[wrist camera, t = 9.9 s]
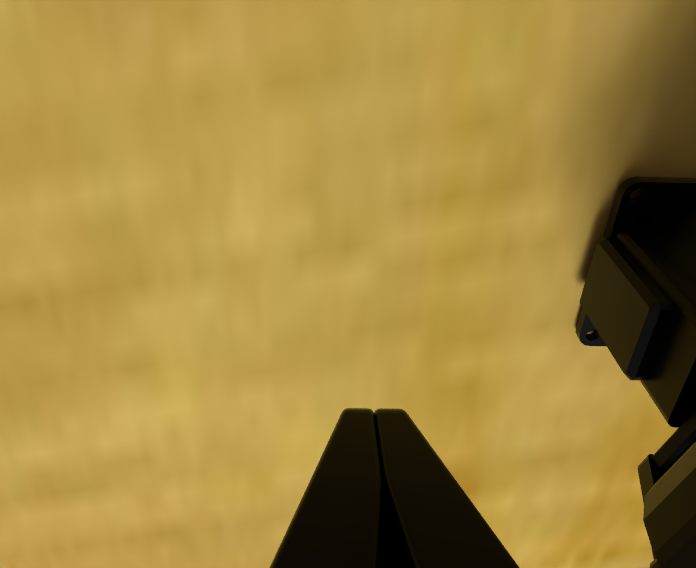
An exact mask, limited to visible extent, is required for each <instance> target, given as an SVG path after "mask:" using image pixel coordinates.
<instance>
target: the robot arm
mask: <svg viewBox="0 0 696 568" xmlns="http://www.w3.org/2000/svg"><path fill="white" fill-rule="evenodd" d="M637 189H640V193H639V195H638V196H636V197H635V198H632V199H630V195H631V193H632V192H634V191H635V190H637ZM580 304H581V306H582V310H581V313H580V317H579V320H578V323H577V326H576V334H577V336H578V338H579V340H580V341H581V343H583V344H584V345H588V346H607V347H608V349H609V350H610V352H611V354H612V355H613V357H614V358H615V360H616V362H617V363H618V365H619V366H620V368H621V370H622V371H623V373H624V374H625V375H626V376H627V377H628V378H629V379H630V380H640V381H641V383H642V384H643V386H644V387H645V389H646V390H647V392H648V393H649V395H650V396H651V398H652V400H653V401H654V403H655V404H656V406H657V407H658V409H659V410H660V412H661V413H662V415H663V416H664V418H665V419H666V421H667V423H668V424H669V425H670V426H672V427H679V428H678V429H677V430H676V431H675V432H674V433H673V434H672V436H671V437H670V438H669V439H668V440H667V441H666V442H665V443H664V444H663V445H662V446H661V447H660V449H659V450H658V451H657V452H656V453H655V454H654V455H653V454H649V455H648V456H647V457H646V458H645V459H644V460H643V461H642V463H641V464H640V465H639V466H638V473H639V479H640V484H641V490H642V496H643V501H644V517H643V521H644V524H645V527H646V530H647V533H648V537H649V540H650V543H651V546H652V552H653V558H654V561H653V562H652V563H650V568H696V179H693V178H659V177H633V178H629V179H628V180H626V181H624V182H623V183H622V184H621V185H620V187H619V189H618V191H617V194H616V197H615V200H614V204H613V207H612V210H611V214H610V217H609V220H608V223H607V227H606V230H605V233H604V237H603V238H602V239H601V240H600V241H599V242H598V243H597V245H596V248H595V252H594V255H593V258H592V262H591V265H590V269H589V272H588V275H587V279H586V282H585V285H584V289H583V292H582V296H581V299H580ZM594 329H595V331H594V332H593V333H591V334H587V333H588V332H589V331H591V330H594ZM270 568H519V566H518V565H517V564H516V562H515V561H514V560H513V558H512V557H511V556H510V554H509V553H508V551H507V550H506V549H505V547H504V546H503V545H502V543H501V542H500V540H499V539H498V538H497V536H496V535H495V534H494V532H493V531H492V529H491V528H490V527H489V525H488V524H487V523H486V521H485V520H484V518H483V517H482V516H481V514H480V513H479V512H478V510H477V509H476V507H475V506H474V505H473V503H472V502H471V501H470V499H469V498H468V496H467V495H466V494H465V492H464V491H463V490H462V488H461V487H460V485H459V484H458V483H457V481H456V480H455V479H454V477H453V476H452V474H451V473H450V472H449V470H448V469H447V468H446V466H445V465H444V463H443V462H442V461H441V459H440V458H439V457H438V455H437V454H436V452H435V451H434V450H433V448H432V447H431V446H430V444H429V443H428V441H427V440H426V439H425V437H424V436H423V435H422V433H421V432H420V430H419V429H418V428H417V426H416V425H415V424H414V422H413V421H412V419H411V418H410V417H409V415H408V414H407V413H406V412H405V411H404V410H402V409H377V410H376V411H375V412H374V413H373V411H372V410H371V409H367V408H347V409H345V410H344V411H343V412H342V413H341V415H340V418H339V420H338V422H337V424H336V426H335V428H334V431H333V433H332V435H331V437H330V439H329V441H328V443H327V446H326V448H325V450H324V452H323V454H322V456H321V459H320V461H319V463H318V465H317V467H316V469H315V471H314V474H313V476H312V478H311V480H310V482H309V484H308V487H307V489H306V491H305V493H304V495H303V497H302V499H301V502H300V504H299V506H298V508H297V510H296V512H295V514H294V517H293V519H292V521H291V523H290V525H289V527H288V530H287V532H286V534H285V536H284V538H283V540H282V542H281V545H280V547H279V549H278V551H277V553H276V555H275V558H274V560H273V562H272V564H271V566H270Z"/></svg>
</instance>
